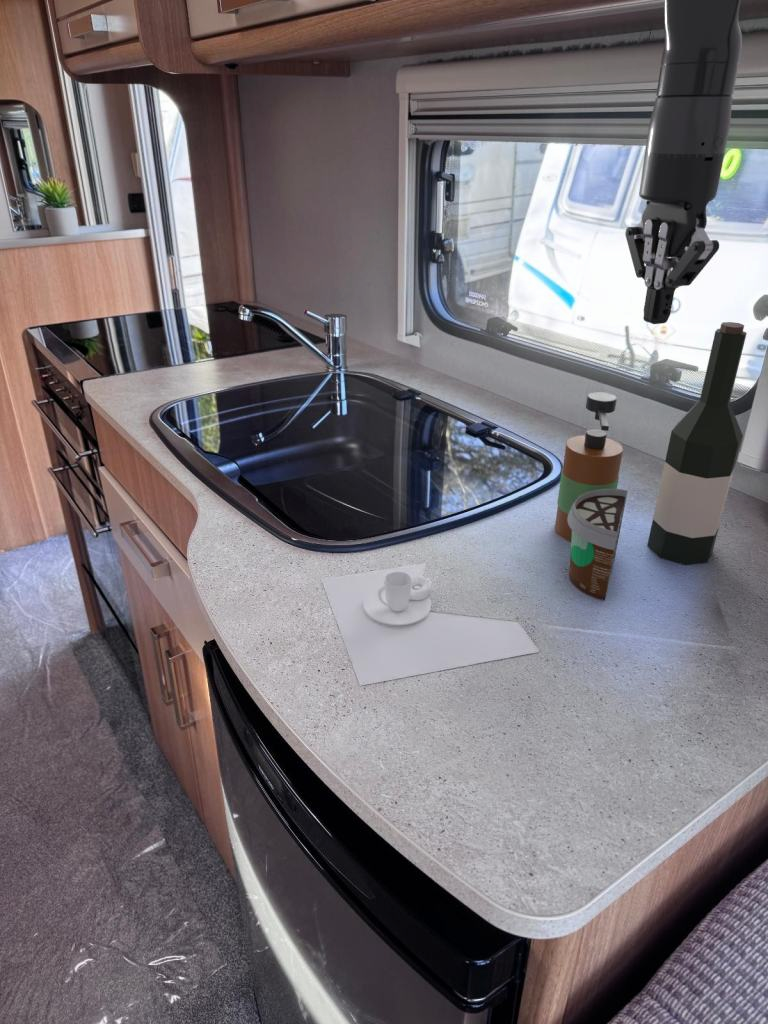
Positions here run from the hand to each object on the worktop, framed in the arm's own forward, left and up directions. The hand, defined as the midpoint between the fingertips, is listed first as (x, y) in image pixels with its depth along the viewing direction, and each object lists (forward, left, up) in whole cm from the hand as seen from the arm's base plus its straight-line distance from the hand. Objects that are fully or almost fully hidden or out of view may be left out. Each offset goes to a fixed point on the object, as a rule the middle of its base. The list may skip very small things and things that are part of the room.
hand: (655, 322), depth 81 cm
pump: (+4, -3, -14) cm, 15 cm away
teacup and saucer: (+23, +18, -31) cm, 42 cm away
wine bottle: (-9, -3, -31) cm, 32 cm away
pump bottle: (+4, -5, -31) cm, 31 cm away
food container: (+4, +6, -31) cm, 32 cm away
